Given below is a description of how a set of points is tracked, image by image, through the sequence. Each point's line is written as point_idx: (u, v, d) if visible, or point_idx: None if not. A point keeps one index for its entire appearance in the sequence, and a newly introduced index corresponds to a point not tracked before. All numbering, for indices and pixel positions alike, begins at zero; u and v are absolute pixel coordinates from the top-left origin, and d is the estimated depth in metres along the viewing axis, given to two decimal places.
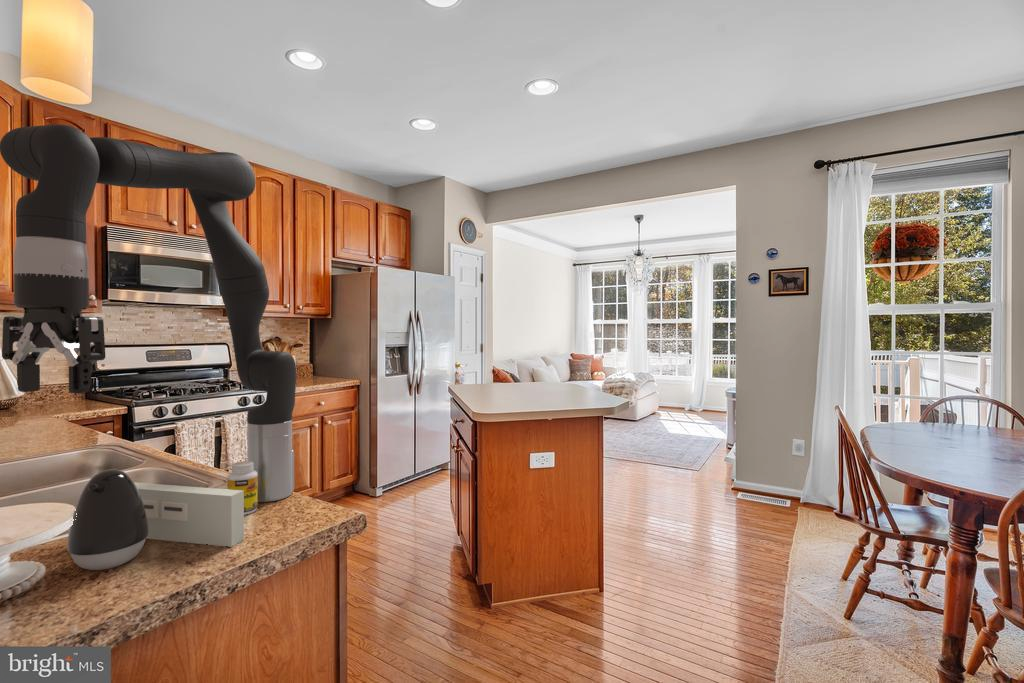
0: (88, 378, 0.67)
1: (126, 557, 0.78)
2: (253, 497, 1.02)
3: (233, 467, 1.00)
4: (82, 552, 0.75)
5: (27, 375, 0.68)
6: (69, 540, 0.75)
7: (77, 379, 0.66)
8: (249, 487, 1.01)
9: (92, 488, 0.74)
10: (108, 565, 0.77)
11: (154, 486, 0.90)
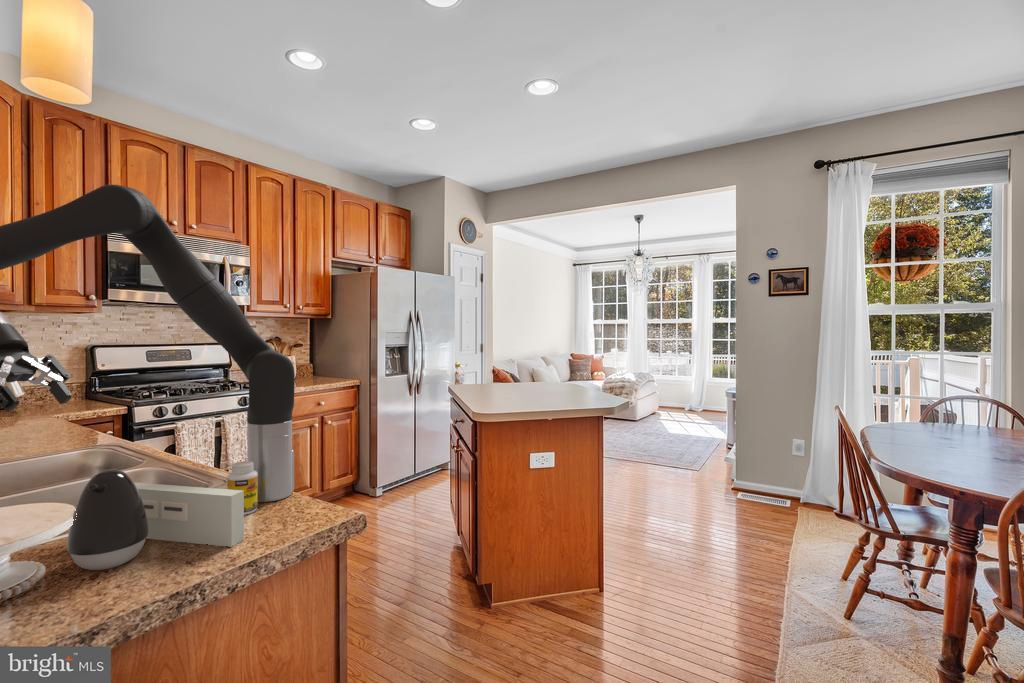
0: (0, 397, 0.80)
1: (126, 557, 0.78)
2: (253, 497, 1.02)
3: (233, 467, 1.00)
4: (82, 552, 0.75)
5: (56, 393, 0.90)
6: (69, 540, 0.75)
7: None
8: (249, 487, 1.01)
9: (92, 488, 0.74)
10: (108, 565, 0.77)
11: (154, 486, 0.90)
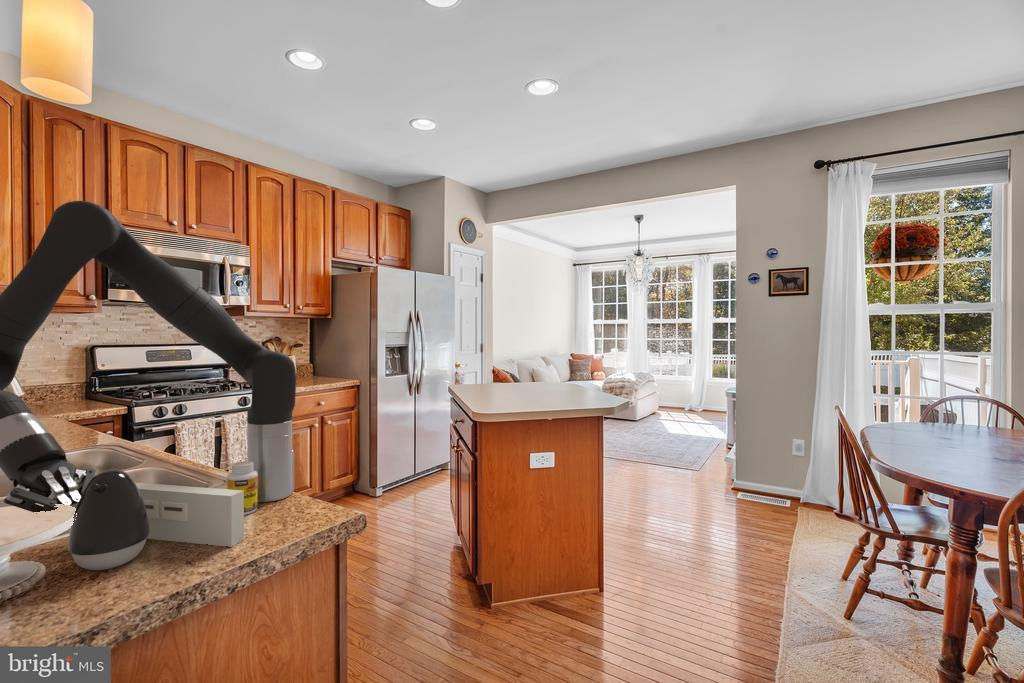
0: None
1: (127, 557, 0.78)
2: (253, 497, 1.02)
3: (233, 467, 1.00)
4: (83, 552, 0.74)
5: None
6: (70, 540, 0.75)
7: None
8: (249, 487, 1.01)
9: (93, 488, 0.74)
10: (109, 565, 0.77)
11: (154, 486, 0.90)
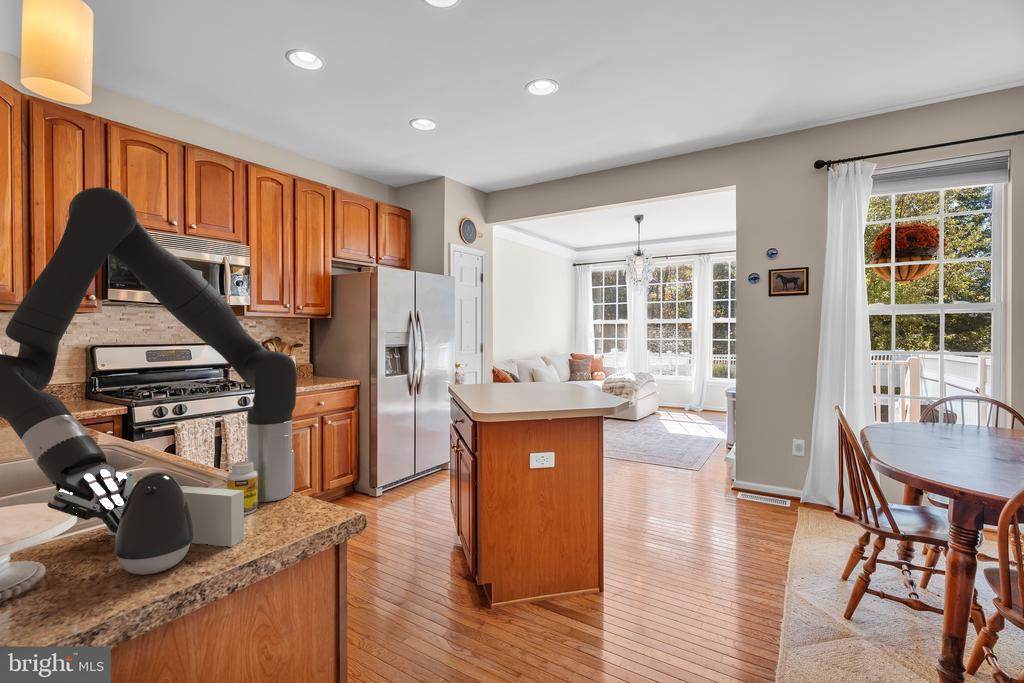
0: (111, 522, 0.77)
1: (176, 560, 0.77)
2: (253, 497, 1.02)
3: (233, 467, 1.00)
4: (135, 556, 0.73)
5: None
6: (119, 545, 0.74)
7: None
8: (249, 487, 1.01)
9: (146, 491, 0.73)
10: (159, 569, 0.76)
11: None
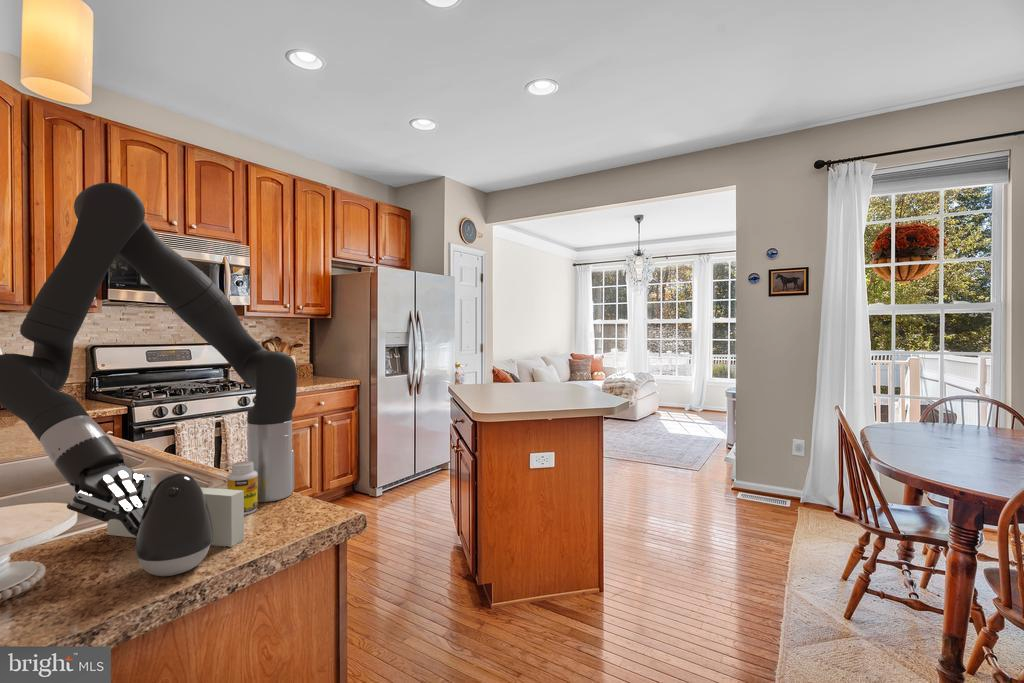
0: (130, 524, 0.77)
1: (198, 561, 0.77)
2: (253, 497, 1.02)
3: (233, 467, 1.00)
4: (159, 557, 0.73)
5: None
6: (141, 546, 0.73)
7: None
8: (249, 487, 1.01)
9: (171, 492, 0.73)
10: (182, 570, 0.75)
11: (154, 486, 0.90)
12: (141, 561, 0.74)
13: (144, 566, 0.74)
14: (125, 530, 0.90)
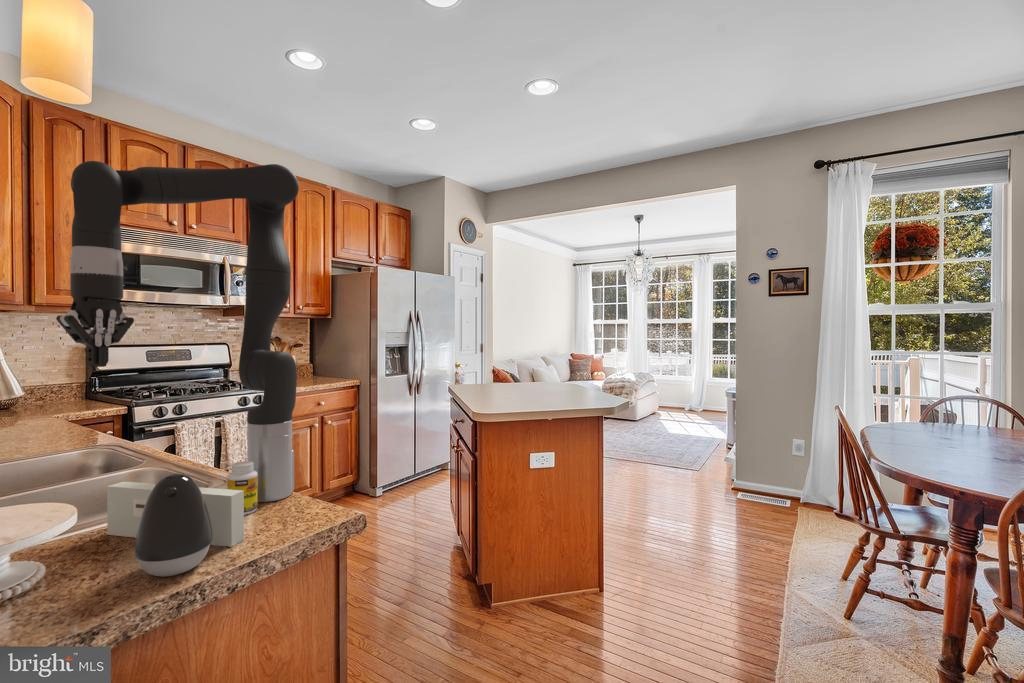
0: (91, 356, 0.90)
1: (198, 561, 0.77)
2: (253, 497, 1.02)
3: (233, 467, 1.00)
4: (158, 558, 0.73)
5: None
6: (140, 547, 0.73)
7: None
8: (249, 487, 1.01)
9: (169, 492, 0.73)
10: (181, 570, 0.75)
11: None
12: (141, 562, 0.74)
13: (144, 567, 0.74)
14: (125, 530, 0.90)
